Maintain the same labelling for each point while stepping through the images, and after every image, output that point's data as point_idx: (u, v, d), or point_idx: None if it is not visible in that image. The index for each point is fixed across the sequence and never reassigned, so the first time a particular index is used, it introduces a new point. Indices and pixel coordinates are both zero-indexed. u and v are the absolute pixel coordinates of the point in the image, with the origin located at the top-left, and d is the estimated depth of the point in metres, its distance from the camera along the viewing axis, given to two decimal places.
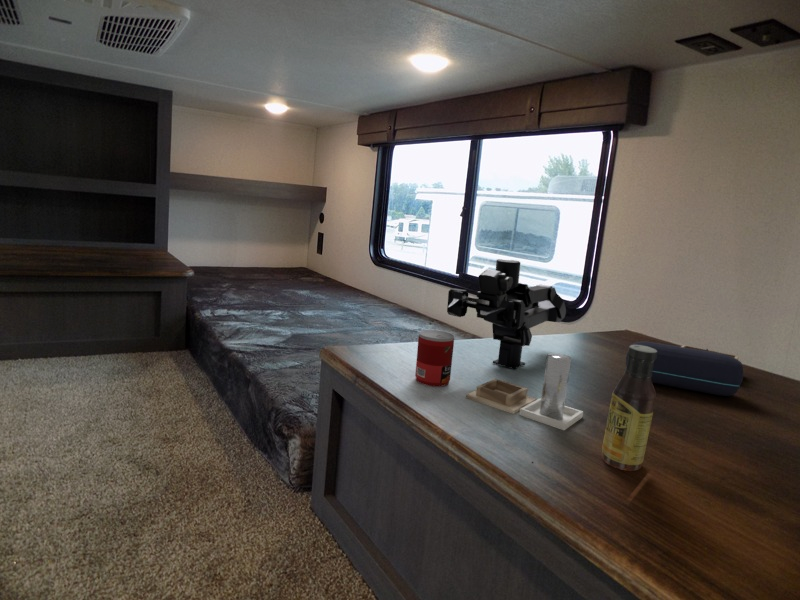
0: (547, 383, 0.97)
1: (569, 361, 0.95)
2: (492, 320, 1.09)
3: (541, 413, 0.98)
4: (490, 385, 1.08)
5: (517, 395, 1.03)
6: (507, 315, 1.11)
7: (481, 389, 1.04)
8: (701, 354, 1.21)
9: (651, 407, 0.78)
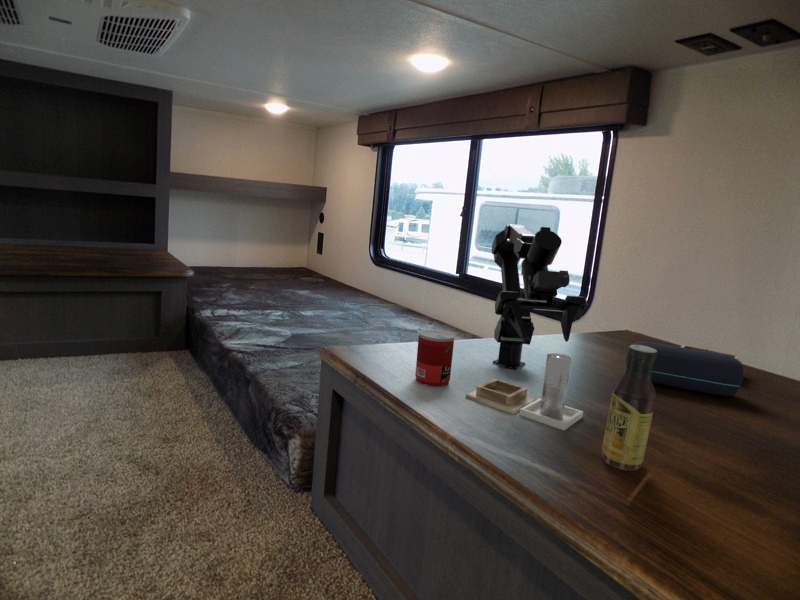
0: (547, 383, 0.97)
1: (569, 361, 0.95)
2: None
3: (541, 413, 0.98)
4: (490, 385, 1.08)
5: (517, 395, 1.03)
6: None
7: (481, 389, 1.04)
8: (701, 354, 1.21)
9: (651, 407, 0.78)
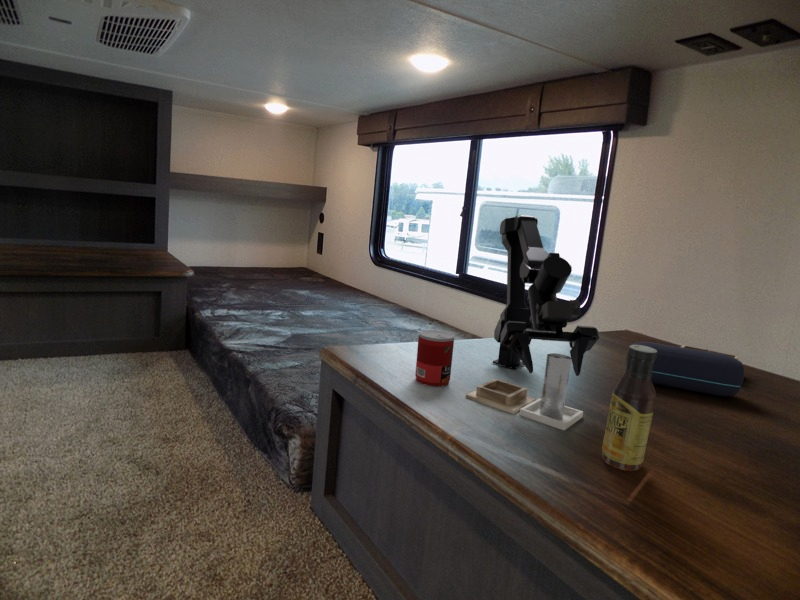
0: (547, 383, 0.97)
1: (569, 361, 0.95)
2: None
3: (541, 413, 0.98)
4: (490, 385, 1.08)
5: (517, 395, 1.03)
6: None
7: (481, 389, 1.04)
8: (702, 354, 1.20)
9: (651, 407, 0.78)
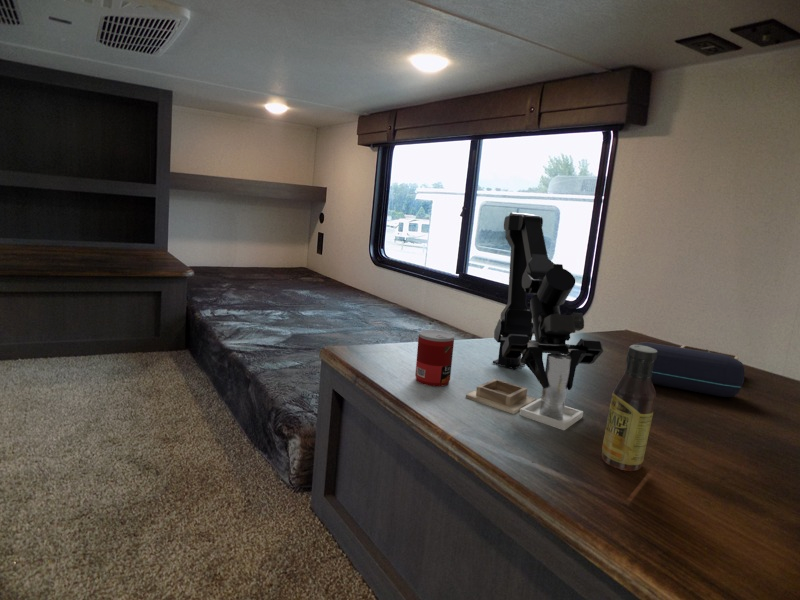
0: (547, 383, 0.97)
1: (569, 361, 0.95)
2: None
3: (541, 413, 0.98)
4: (490, 385, 1.08)
5: (517, 395, 1.03)
6: None
7: (481, 389, 1.04)
8: (702, 355, 1.20)
9: (651, 407, 0.78)
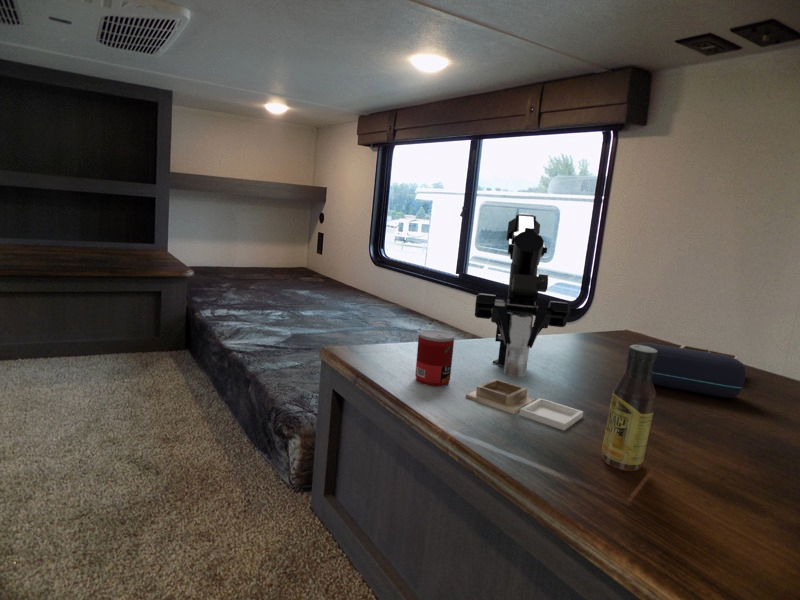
0: (508, 340, 1.01)
1: (529, 319, 0.99)
2: (534, 340, 1.02)
3: (504, 369, 1.03)
4: (490, 385, 1.08)
5: (517, 395, 1.03)
6: (543, 321, 1.03)
7: (481, 389, 1.04)
8: (702, 355, 1.20)
9: (651, 407, 0.78)
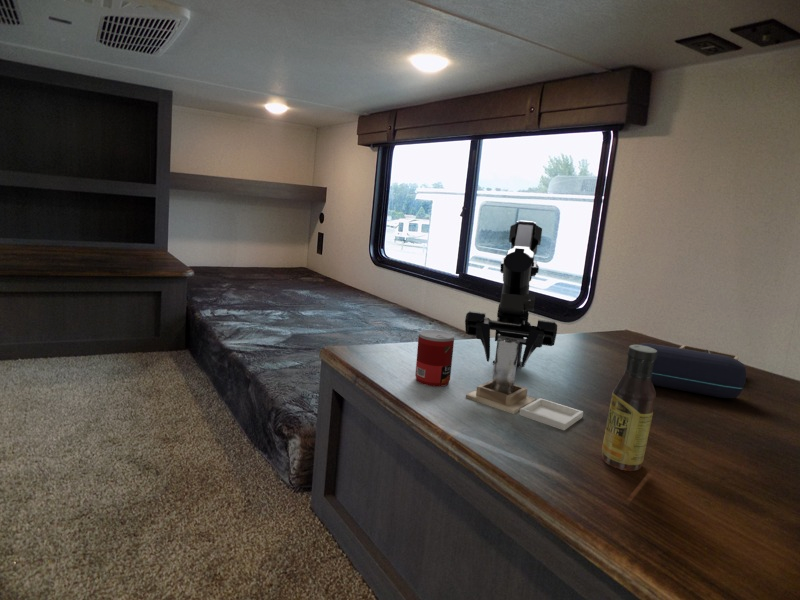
0: (495, 364, 1.04)
1: (515, 345, 1.01)
2: (527, 359, 1.04)
3: None
4: (490, 385, 1.08)
5: (517, 395, 1.03)
6: (536, 340, 1.05)
7: (481, 389, 1.04)
8: (703, 356, 1.19)
9: (651, 407, 0.78)
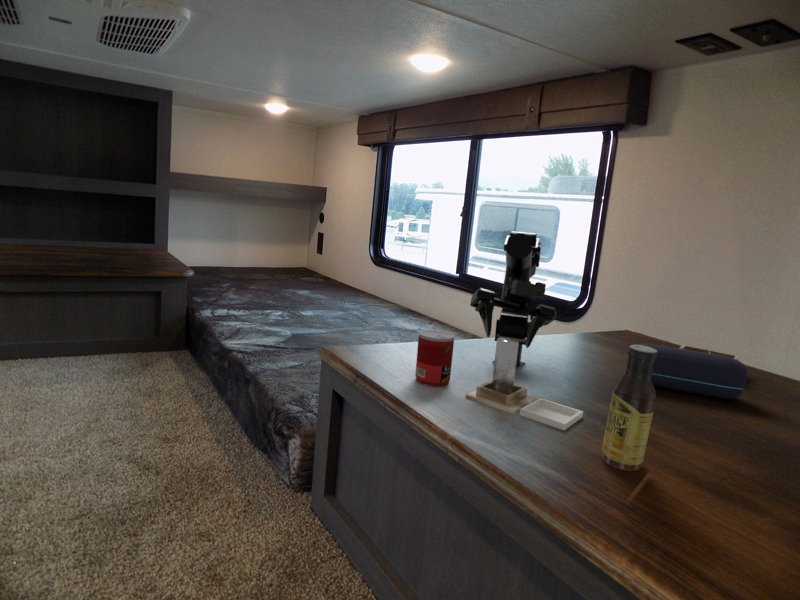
0: (494, 364, 1.04)
1: (514, 345, 1.02)
2: None
3: None
4: (490, 385, 1.08)
5: (517, 395, 1.03)
6: None
7: (481, 389, 1.04)
8: (704, 356, 1.19)
9: (651, 407, 0.78)
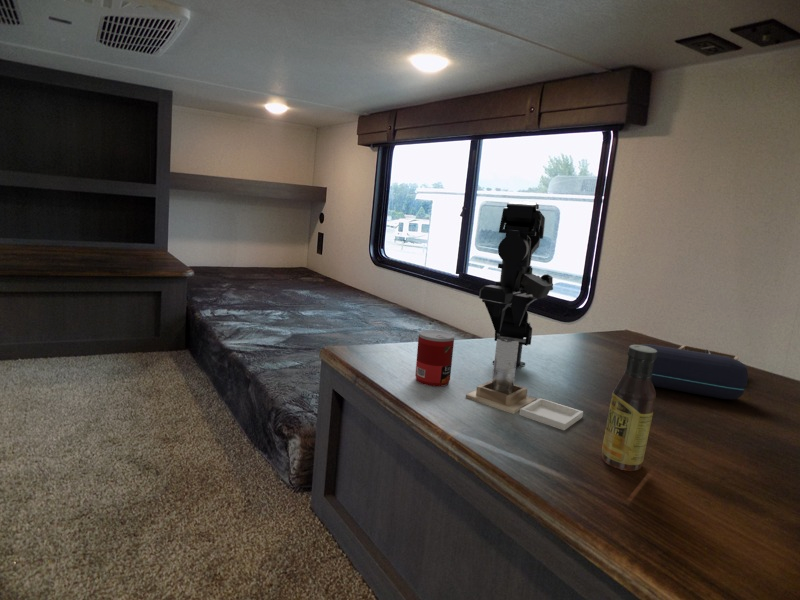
0: (494, 364, 1.04)
1: (514, 345, 1.02)
2: None
3: None
4: (490, 385, 1.08)
5: (517, 395, 1.03)
6: None
7: (481, 389, 1.04)
8: (704, 357, 1.18)
9: (651, 407, 0.78)
